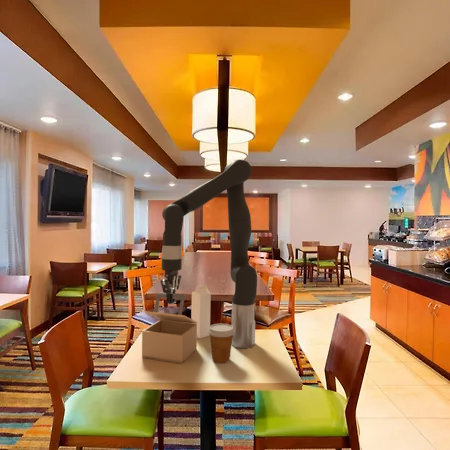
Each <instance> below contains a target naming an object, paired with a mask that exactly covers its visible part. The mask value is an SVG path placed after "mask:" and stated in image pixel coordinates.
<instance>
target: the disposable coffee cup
mask: <svg viewBox="0 0 450 450" xmlns="http://www.w3.org/2000/svg"><path fill="white" fill-rule="evenodd" d="M208 331H209V334H210V336H209V340H210V349H211V350H210V351H211V359H212V362H214V363H218V364H225V363H228V362H230V358H231V351H232V346H233V345H232V338H233V334H234V329H233V326H232V324H229V323H214V324H210V329H209V330H208Z"/></svg>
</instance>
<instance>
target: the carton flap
mask: <svg viewBox="0 0 450 450" xmlns="http://www.w3.org/2000/svg"><path fill="white" fill-rule="evenodd" d="M172 294H173V299H175V300H180V302H179V307H178V311H177V312H178V313H177V314H174V313H167V312H158V309H159V305H160V301H161V298H162V299H166V293H163V291H161V292H160V291H157V293H156V298H155V299H156V300H155V303H154V308H153V311H148V310H145V311H144V313H145V314H146V315H149V316H151V317H153V318H156V319H158V320H166V321H175V322H183V323H194V324H197V322H196V321H194V320H192V319H191V318H190V317H188V316H186V315H183V314H182V313H183V308H184V304H185V299H186V294H183V293H176V294H174V293H172Z"/></svg>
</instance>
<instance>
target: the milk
mask: <svg viewBox="0 0 450 450" xmlns="http://www.w3.org/2000/svg"><path fill="white" fill-rule="evenodd" d="M207 287H208V286H207V284H202V285H197V286H195V290H194V291H192V292H191V313H190V315H191V316H190V317H191V318H190V319H192V320H194V321H196V322H197V338H198V339H199V340H200V339H203V338H206V337H210V334H209V331H208V330H209V329H210V326H211V300H212V299H211V297H212V296H211V292H210V291H209V290H208V289H209V288H207ZM192 324H194V323H192Z"/></svg>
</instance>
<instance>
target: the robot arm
mask: <svg viewBox="0 0 450 450" xmlns="http://www.w3.org/2000/svg"><path fill="white" fill-rule="evenodd" d="M251 174H252V166H251V164H250V163H249V162H248V161H246V160H245V159H236V160H233V161H230V162H229V163H227V164H226V166H225V168H224V170H223V172H222V173H220V174H219V175H217V176H215V177H214V178H212V179H211V180H209V181H207V182H204V183H203V184H200V185H199V186H197V187H196V188H194V189H192V190H191V191H189V192H188V193H186V194H184V195H183V196H182V197H181V198H179V199H177V200H175V201H173V202H171V203H170V204H168V205H167V206H165V207H164V208H163V210H162V212H161V213H162V215H161V216H162V218H163V220H164V230H163V233H162V248H161V270H162V271H164V278H163V279H160V284H161V287H162V288H161V289H162V292H163V293H166V298H165V299H166V301H165V303H166V304H169V305H171V304H173V303H175V302H176V299H173V294H172V293H174V294H177V291H178V290H179V289H180V285H181V280H182V275H181V274H179V271H181V270H182V265H183V263H182V260H183V257H182V255H183V250H182V249H183V248H182V231H183V226H184V225H183V224H184V217H185V216H186V215H188V214H189V213H192V212H194V211H196V210H197V209H199V208H201V207H202V206H204V205H206V204H207V203H208V202H210V201H211V200H213V199H214V198H216V197H217V196H219V195H220V194H222V193H223V192H225V191H226V194H227V196H226V197H227V216H228V217H227V218H228V220H227V221H228V223H227V224H228V232H229V233H228V234H229V243H230V244H229V246H230V272H229V273H230V279H231V280H232V282H234V294H233V295H232V298H231V326H233V329H234V334H233V338H232V345H231V346H232V347H234V348H239V349H252V348H253V347H254V346H255V343H256V320H255V301H256V296H257V291H258V290H257V289H258V274H257V270H256V268H255V267H253V266H251V265H250V261H249V253H248V252H249V244H250V239H251V236H252V217H251V213H250V209H249V206H248V204H247V201H246V200H247V199H246V197H245V192H244V191H245V188H244V187H245V185H244V183H245V182H246V181H248V180H249V179H250V177H251V176H252V175H251Z"/></svg>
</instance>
